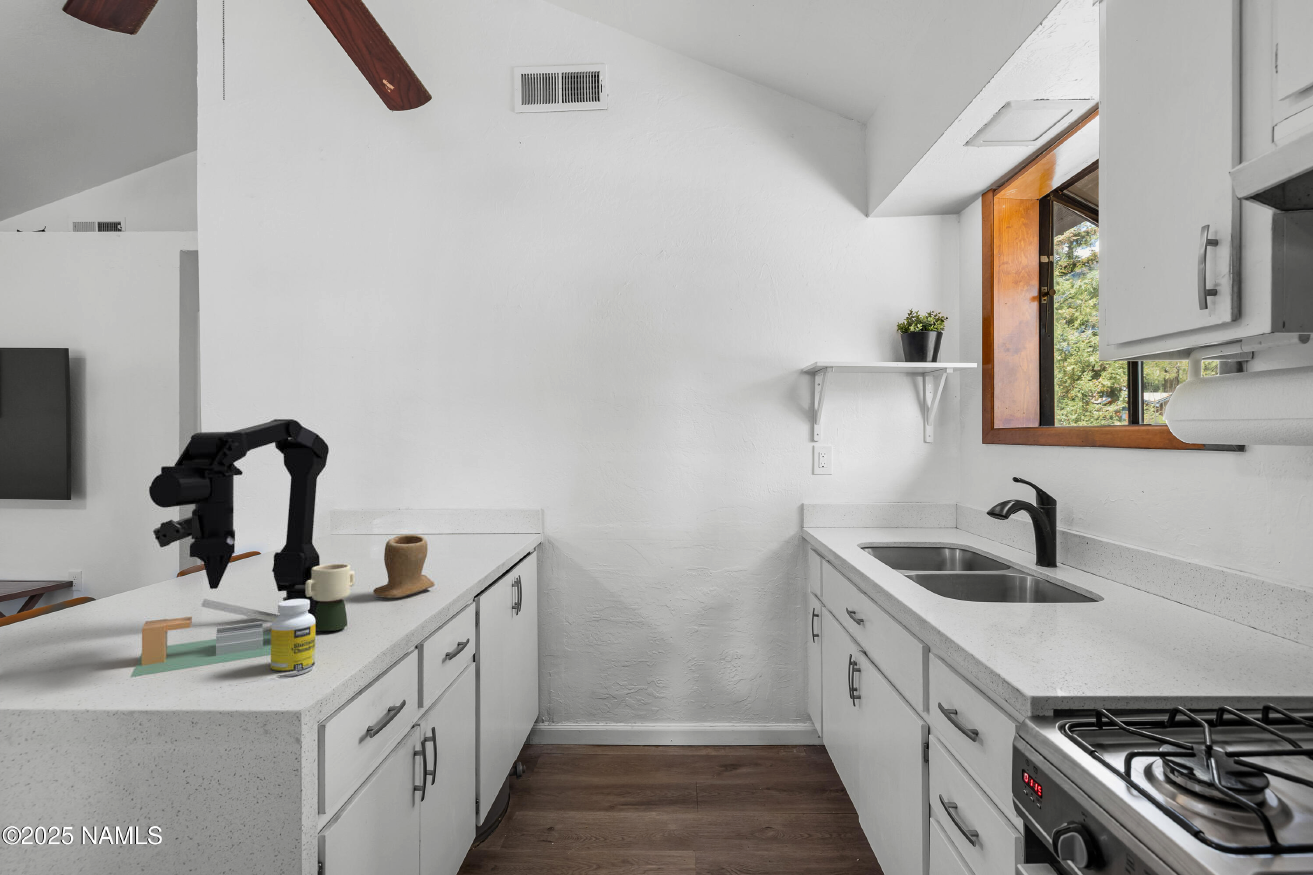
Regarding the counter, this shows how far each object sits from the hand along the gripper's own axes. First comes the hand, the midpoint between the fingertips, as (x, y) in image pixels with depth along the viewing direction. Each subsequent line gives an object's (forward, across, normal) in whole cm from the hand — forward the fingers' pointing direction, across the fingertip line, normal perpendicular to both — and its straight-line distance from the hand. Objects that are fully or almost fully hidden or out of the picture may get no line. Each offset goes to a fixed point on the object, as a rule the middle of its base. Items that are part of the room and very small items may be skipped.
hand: (213, 588), depth 112 cm
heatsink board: (+12, 0, +1) cm, 12 cm away
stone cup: (+13, -29, +40) cm, 51 cm away
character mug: (+12, -6, +19) cm, 24 cm away
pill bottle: (+12, +16, +11) cm, 23 cm away
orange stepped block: (+11, 0, -7) cm, 13 cm away
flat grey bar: (+5, 0, +4) cm, 7 cm away
